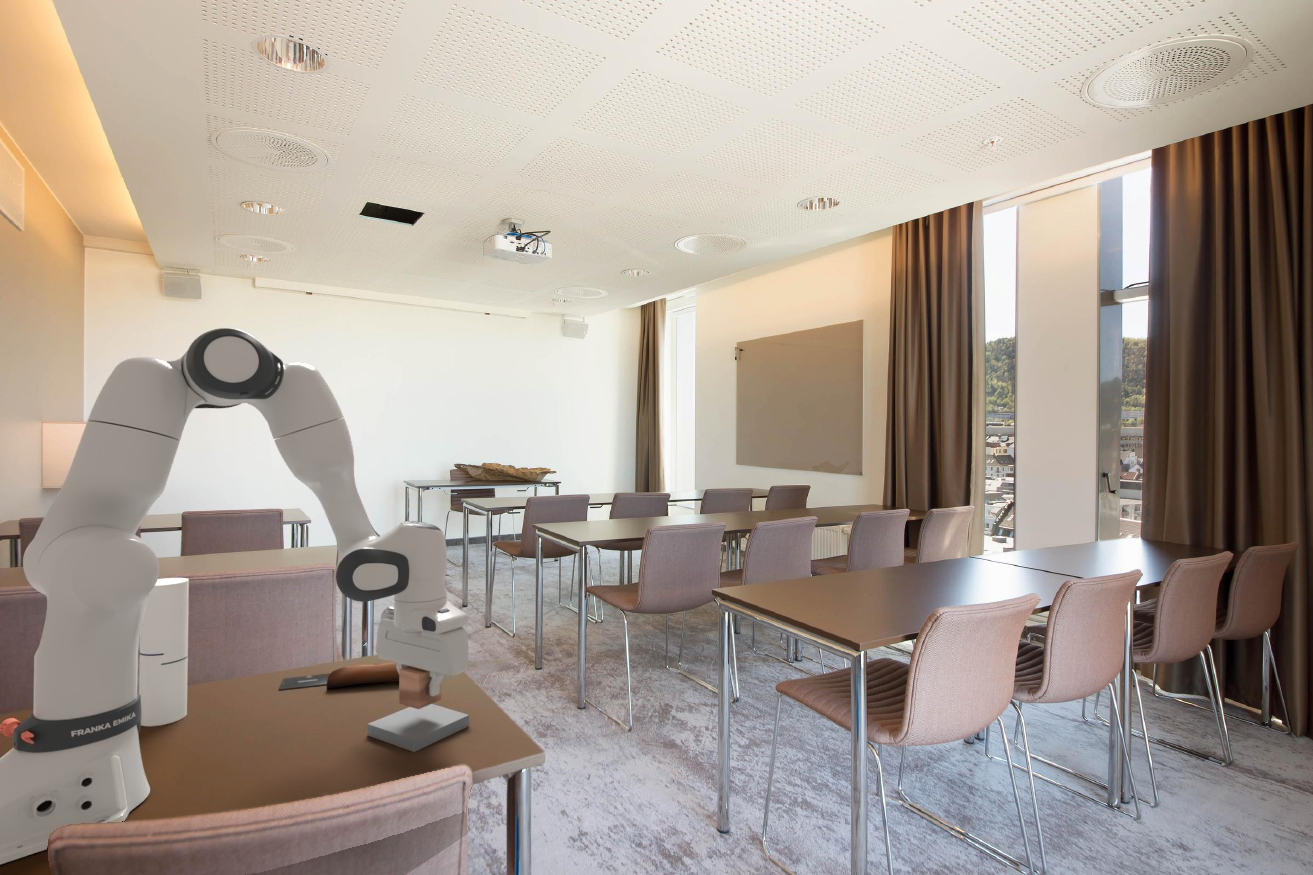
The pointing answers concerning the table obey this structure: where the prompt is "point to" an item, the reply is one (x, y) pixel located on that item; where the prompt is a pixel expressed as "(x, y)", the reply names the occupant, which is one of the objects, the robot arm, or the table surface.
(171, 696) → the cylindrical container
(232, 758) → the table surface
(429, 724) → the slate base
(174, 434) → the robot arm
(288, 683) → the solid state drive
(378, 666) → the sunglasses case
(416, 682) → the terracotta block
